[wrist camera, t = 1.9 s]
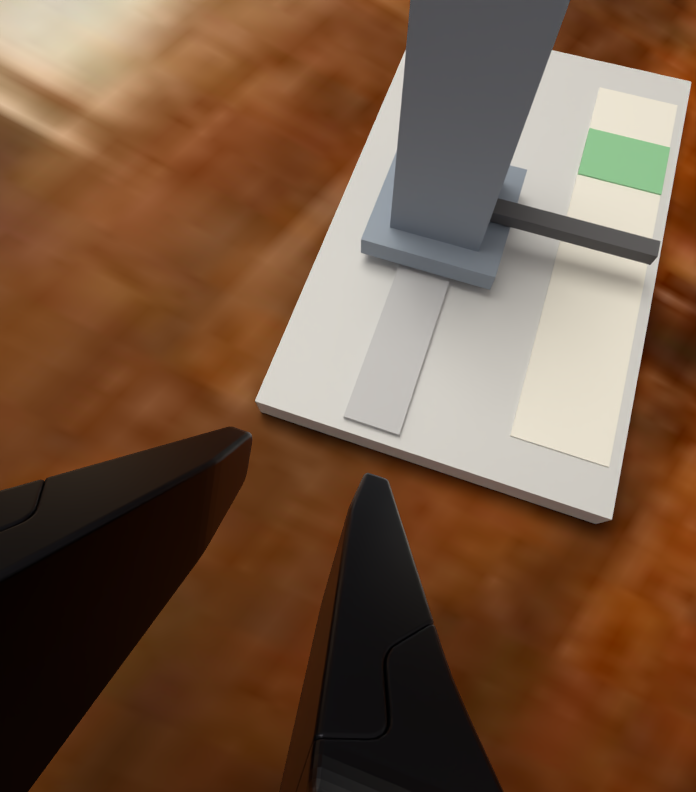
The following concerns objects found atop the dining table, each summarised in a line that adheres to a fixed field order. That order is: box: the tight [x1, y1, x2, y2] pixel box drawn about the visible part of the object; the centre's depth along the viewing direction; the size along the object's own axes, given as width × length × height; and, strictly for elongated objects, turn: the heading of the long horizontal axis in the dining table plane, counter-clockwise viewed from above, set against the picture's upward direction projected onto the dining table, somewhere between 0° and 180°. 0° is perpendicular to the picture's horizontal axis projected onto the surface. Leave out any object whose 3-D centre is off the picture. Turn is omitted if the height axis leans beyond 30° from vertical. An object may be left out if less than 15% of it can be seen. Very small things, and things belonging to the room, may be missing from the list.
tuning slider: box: [361, 0, 661, 290], centre depth 19 cm, size 6×12×12 cm, turn 71°
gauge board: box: [255, 50, 691, 524], centre depth 26 cm, size 24×15×2 cm, turn 161°
